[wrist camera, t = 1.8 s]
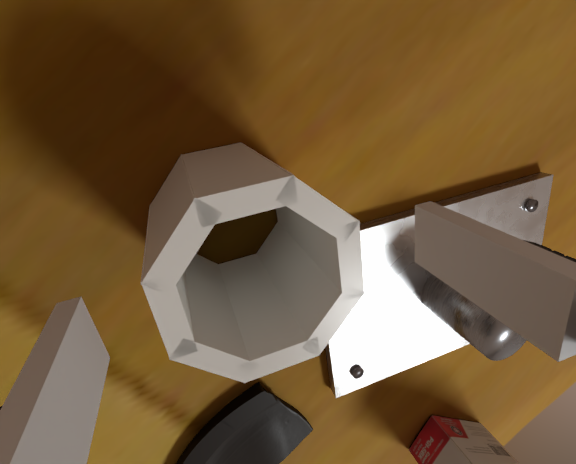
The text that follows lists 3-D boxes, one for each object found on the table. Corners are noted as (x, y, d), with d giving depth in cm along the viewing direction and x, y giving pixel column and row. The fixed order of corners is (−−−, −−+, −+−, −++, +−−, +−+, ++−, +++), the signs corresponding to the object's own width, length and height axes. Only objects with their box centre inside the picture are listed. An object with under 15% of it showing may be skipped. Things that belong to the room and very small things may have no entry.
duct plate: (330, 388, 29) (376, 468, 23) (310, 237, 23) (363, 289, 17) (519, 313, 34) (599, 362, 28) (541, 172, 28) (647, 194, 22)
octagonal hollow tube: (177, 291, 22) (186, 405, 14) (135, 163, 18) (115, 216, 10) (298, 255, 24) (368, 337, 16) (280, 133, 20) (355, 159, 12)
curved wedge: (115, 486, 26) (112, 509, 25) (257, 371, 27) (263, 387, 25) (190, 522, 30) (191, 543, 29) (313, 420, 31) (320, 436, 29)
